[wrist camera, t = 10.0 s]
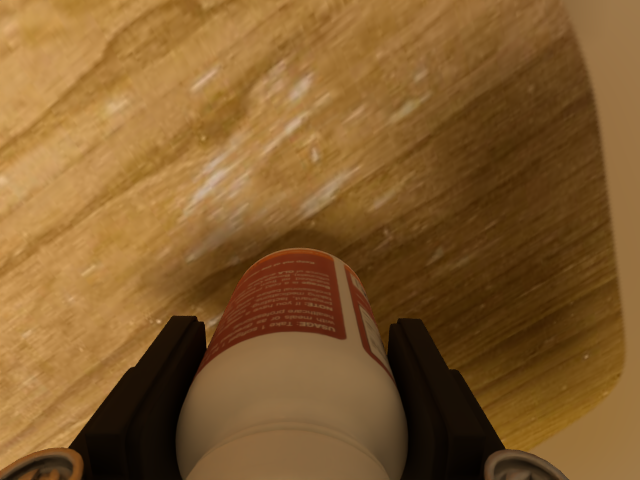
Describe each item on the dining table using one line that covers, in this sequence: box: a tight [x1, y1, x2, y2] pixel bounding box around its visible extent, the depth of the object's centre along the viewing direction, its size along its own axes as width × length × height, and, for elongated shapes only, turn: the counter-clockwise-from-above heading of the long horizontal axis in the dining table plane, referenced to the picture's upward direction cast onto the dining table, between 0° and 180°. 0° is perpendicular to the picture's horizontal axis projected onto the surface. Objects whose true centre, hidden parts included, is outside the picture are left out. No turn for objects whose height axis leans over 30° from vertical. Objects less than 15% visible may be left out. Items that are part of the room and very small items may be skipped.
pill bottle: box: [175, 248, 409, 480], centre depth 9 cm, size 5×5×8 cm
